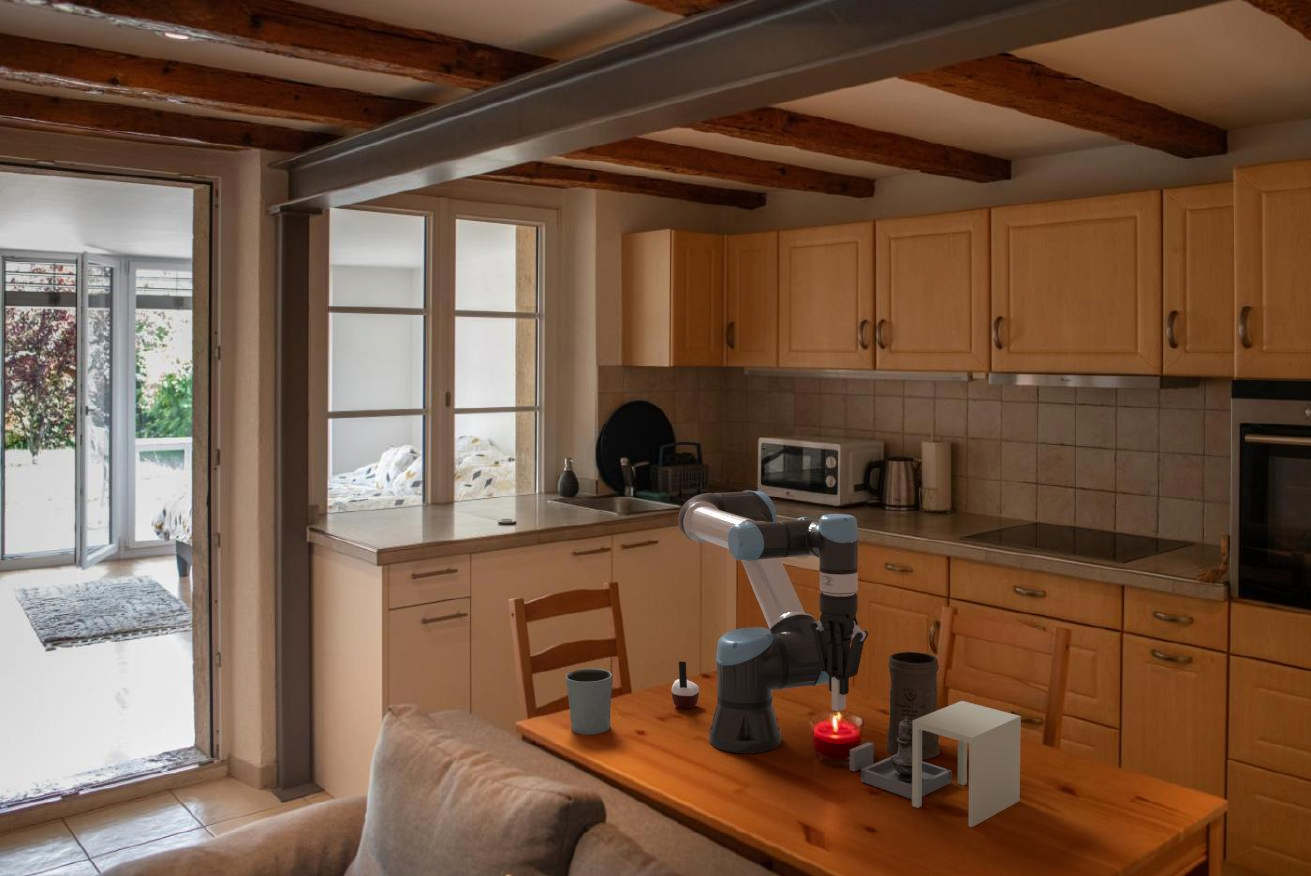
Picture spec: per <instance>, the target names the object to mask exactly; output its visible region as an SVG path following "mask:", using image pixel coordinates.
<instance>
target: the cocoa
mask: <svg viewBox="0 0 1311 876" xmlns="http://www.w3.org/2000/svg"><path fill="white" fill-rule="evenodd" d="M687 678H688V677H687V662H686V661H680V660H679V661H678V679H675V680H674V682H673V684H672V686H671V697H672V701H673V704H674V705H675V707H676V708H678V709H680V710H690V708H691V709H693V708H695V706H697V704H698V701H699V696H700V695H699V694H700V692H699V691H700V687H699V686H698V684H696V683H694V682H693V681H691V680H689V679H687Z"/></svg>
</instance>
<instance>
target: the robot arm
mask: <svg viewBox="0 0 1311 876" xmlns="http://www.w3.org/2000/svg"><path fill="white" fill-rule="evenodd" d="M773 502H774V501H772V499H771V498H770V496H769V495H768V494H766V493H765V492H763V491H759V490H756V491H755V490H743V491H733V492H729V491H728V492H714V493H712V492H708V493H701V494H698V495H695V496H693V497H691V498H689V499H688V500H687V501H685V502H684V503H683V505H682V506H681V508H680V509H679V513H678V516H677V522H678V528H679V530H680V532H681V533H682V534H683V535H684V536H685V537H686V538H687V539H688V540H690V541H694V542H696V543H699V544H700V543H702V544H703V543H705V544H706V543H711V544H713V545H717V546H719V547H722V548H725V549H727V550H729V553H730V554H731V557H732V558H733V559H734V560H736V561H740V562H741V563H742V566H743V568H744V571H745V573H746V575H747V577H748V580H749V582H750V585H751V587H752V590H753V592H754V594H755V597H756V599H757V603H758V604H759V606H760V609H761V612H762V613H763V617H764V618H765V621H766V623H767V626H768V628H766V627H761V626H754V627H752V626H747V627H746V626H745V627H740V628H736V629H733V630H732V629H731V631H727V632H726V633H724V634H722V636H720V638H719V639H718V642H717V648H716V649H717V651H716V655H715V660H716V683H717V684H716V685H717V689H716V691H717V692H716V694H717V700H716V701H717V705H716V708H715V711H714V715H713V719H712V722H711V725H710V727H709V734H708V735H709V739H708V740H709V743H710V745H712V746H713V747H714V748H716V749H718V750H721V751H725V752H729V753H735V754H758V753H759V754H760V753H765V752H768V751H769V752H770V751H772V750H774V749H777V748H778V747H779V746H780V745H781V743H782V731H781V728H780V726H779V724H778V720H777V716H776V713H775V709H774V706H773V691H777V690H785V689H793V688H803V687H811V686H812V687H817V686H818V685H823V684H828V690H829V692H831V710H832V711H836V712H840V711H842V710H844V709H847V694H849V692H850V687H849V686H850V685H849V684H850V683H849V680H850V679H849V678H852V677H856V676H857V675H858V673H859V668H860V664H861V663H860V662H861V658H862V653H863V649H864V643H865V641H866V639H867V638H868V636H869V632H868V631H867V630H863V629H862V628H860V626H859V622H858V620H857V613H858V611H859V597H858V593H856V592H858V590H859V577H858V576H859V571H858V567H859V566H858V565H859V560H858V557H859V532H858V520H857V518H856V517H855V516H854V515H851V514H844V513H827V514H823V515H822V516H820V518H817V517H813V516H810V517H809V516H801V517H798V518H796V519H794V520H780V521H779V520H778V516H777V515H776V514H777V510H776V506H775V504H774V503H773ZM810 556H811V557H816V558H819V559H818V561H819V562H818V563H819V590H820V593H819V611H820V612H821V614H820V616H819V620H816V618H815V617H814V616H813V615H812V614H810V613H806V612H805V610H804V608H803V604H802V603H801V601H800V599H799V597H798V594H797V592H796V590H795V588H794V585H793V583H792V581H791V578H790V577H789V575H788V571H787V570H786V567H785V566H784V564H783V561H782V558H796V557H799V558H800V557H810Z"/></svg>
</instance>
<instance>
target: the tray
mask: <svg viewBox="0 0 1311 876" xmlns="http://www.w3.org/2000/svg"><path fill="white" fill-rule="evenodd" d="M892 756H893V755H891V756H890V757H887V758H884V759H882V760H879V761H877V762H875V763H874V743H873V742H872V743H871V742H869V741H868V742H865V743H863V744H860V745H858V746H856V747H853V748H850V749H849V771H853V772H857V771H859V770H860V781H861V782H862V783H864V784H868V785H871V786H873V787H876V788H879V789H881V790H883V791H884V790H885V791H887V792H890V793H892V794H895V795H898V796H901V797H904V798H907V799H910V800H912V783H905V782H902V781H899V780H896V779H893V778H892V775H893V774H894V773H896V772H897V771H896V770H895V769H894V767H893V764H892V761H891V757H892ZM952 772H953V771H952V770H951V769H948V768H945V767H941V766H938V765H935V764H932V763H929V762H926V761H924V760H922V798H923V797H924V796H927V795H928V794H930V793H933V792H935V791H937V790H939V789H941V788H943V787H945V786H948V785H950V784H951V783H952V780H953V779H952V776H953V775H952V774H953V773H952Z"/></svg>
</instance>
